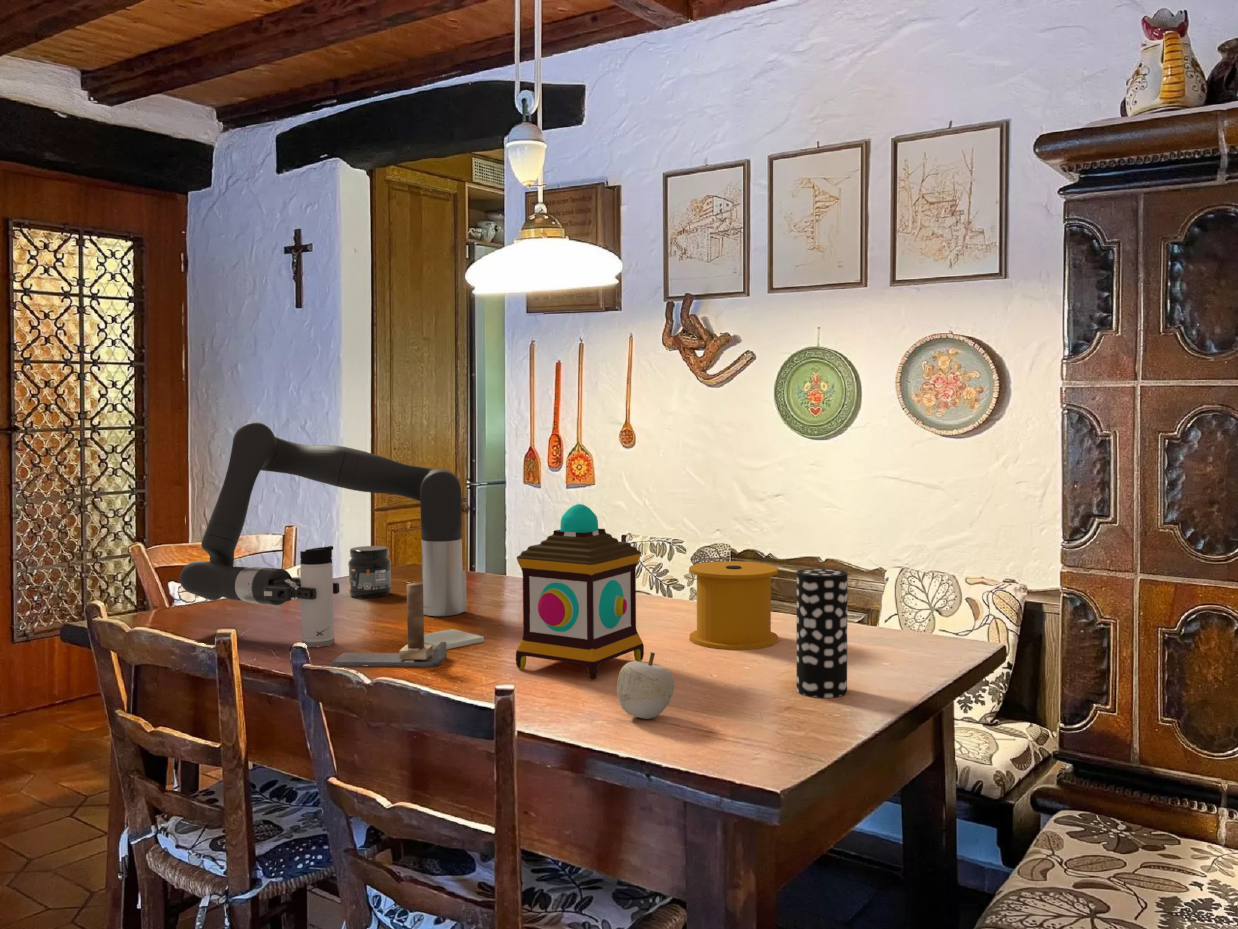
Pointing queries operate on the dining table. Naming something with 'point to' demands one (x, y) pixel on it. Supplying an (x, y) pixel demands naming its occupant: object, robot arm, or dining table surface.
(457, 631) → the pad
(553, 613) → the decorative lantern
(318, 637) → the travel mug
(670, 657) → the dining table surface
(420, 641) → the post
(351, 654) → the rail
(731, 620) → the spool
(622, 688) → the decorative object
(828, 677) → the spotted tube
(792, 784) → the dining table surface
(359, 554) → the supplement container
